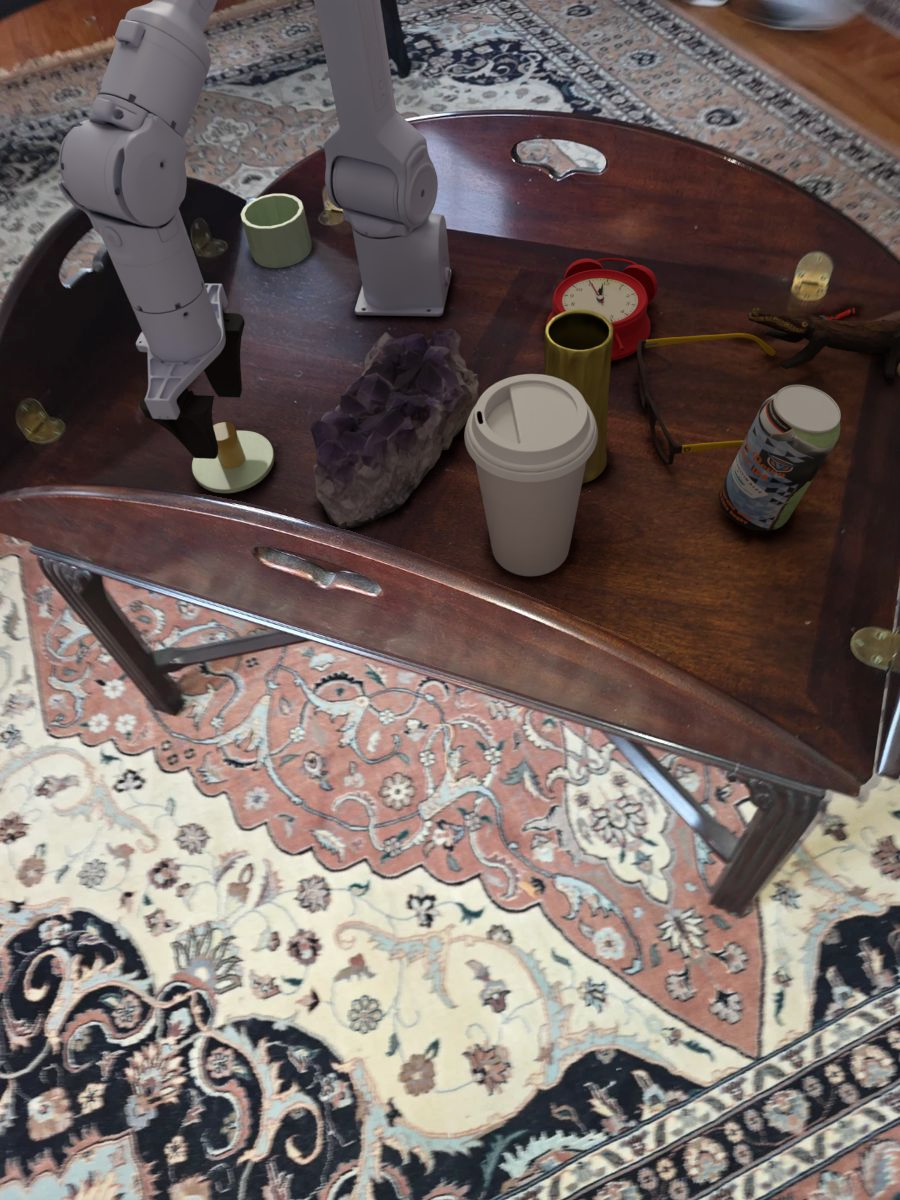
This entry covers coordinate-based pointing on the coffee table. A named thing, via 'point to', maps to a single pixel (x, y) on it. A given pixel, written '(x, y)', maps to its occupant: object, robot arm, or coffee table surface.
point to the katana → (840, 315)
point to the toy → (831, 336)
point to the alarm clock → (610, 299)
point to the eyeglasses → (651, 406)
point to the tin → (276, 230)
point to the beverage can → (780, 457)
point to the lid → (234, 461)
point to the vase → (583, 368)
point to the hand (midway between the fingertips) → (218, 424)
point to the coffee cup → (530, 467)
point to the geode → (391, 426)
